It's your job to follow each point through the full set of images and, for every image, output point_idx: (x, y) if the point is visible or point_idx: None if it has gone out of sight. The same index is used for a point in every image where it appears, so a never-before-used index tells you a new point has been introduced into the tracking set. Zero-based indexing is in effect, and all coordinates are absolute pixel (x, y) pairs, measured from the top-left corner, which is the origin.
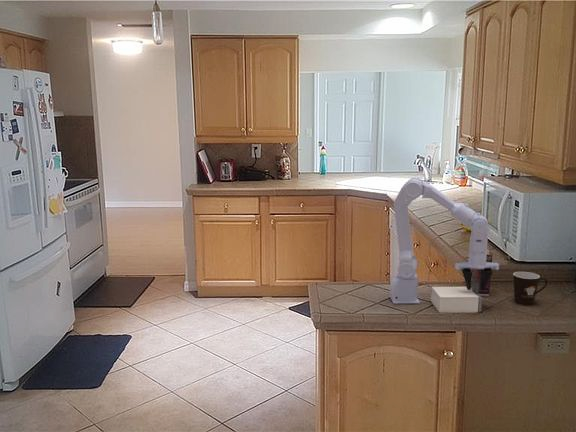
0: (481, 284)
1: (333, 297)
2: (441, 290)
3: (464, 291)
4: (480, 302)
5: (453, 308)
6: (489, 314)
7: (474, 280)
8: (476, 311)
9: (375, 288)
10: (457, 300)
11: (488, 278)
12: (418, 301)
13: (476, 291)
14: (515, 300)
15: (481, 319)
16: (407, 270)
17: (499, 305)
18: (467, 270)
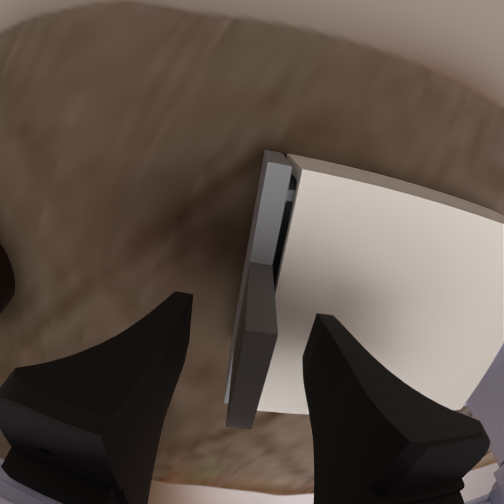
0: (180, 356)
1: None
2: (467, 358)
3: None
4: (276, 158)
5: (447, 196)
6: (224, 105)
7: (250, 407)
8: (297, 155)
9: None
10: (458, 206)
11: (96, 348)
12: None
13: (271, 276)
14: (8, 278)
15: (327, 37)
16: None
17: (90, 249)
18: (423, 496)
